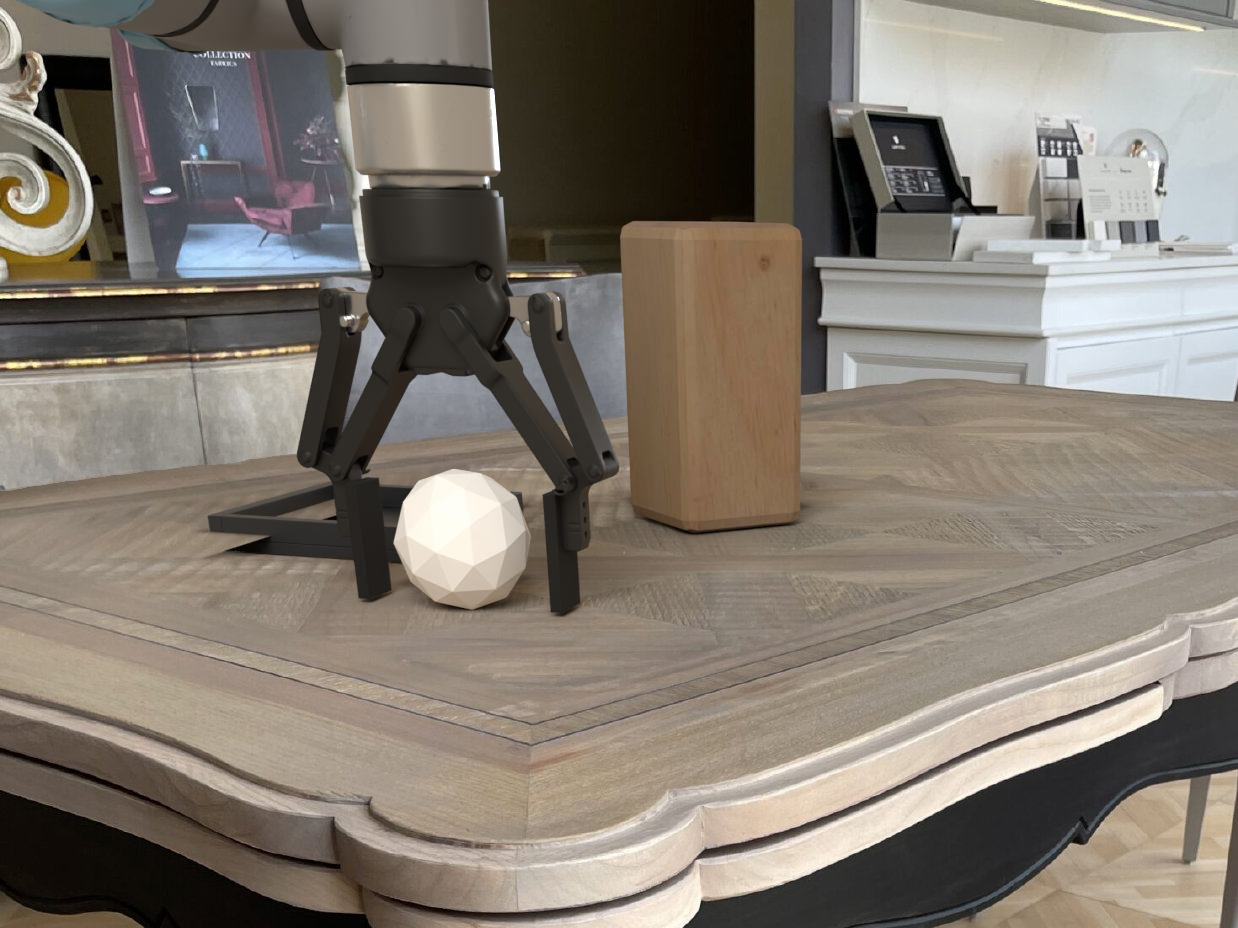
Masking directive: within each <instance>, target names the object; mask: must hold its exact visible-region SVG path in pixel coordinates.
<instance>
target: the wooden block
mask: <svg viewBox="0 0 1238 928" xmlns="http://www.w3.org/2000/svg"><path fill="white" fill-rule="evenodd" d="M619 242H620V243H619V245H620V267H621V268H620V271H621V289H622V290H621V291H622V316H623V339H624V341H623V342H624V359H625V360H624V362H625V364H624V366H625V386H626V388H625V389H626V413H627V431H628V432H627V435H628V437H627V438H628V459H629V460H628V463H629V483H630V486H629V487H630V504H631V506H632V510H633V512H634V513H635V514H636V515H638V516H641V517H643V518H646V519H649V520H653V521H655V522H659V523H662V524H664V525H668V526H671V527H674V528H677V529H680V530H682V531H686V532H689V533H691V534H700V533H709V532H719V531H720V532H722V531H731V530H732V531H733V530H739V529H740V530H742V529H752V528H761V527H771V526H781V525H788V524H789V523H792V522H794V521H796V520H798V518H799V516H800V512H801V443H802V441H801V434H802V433H801V432H802V431H801V429H802V427H801V425H802V424H801V423H802V422H801V420H802V315H803V314H802V311H803V309H802V304H803V303H802V301H803V300H802V299H803V298H802V297H803V295H802V293H803V292H802V291H803V290H802V288H803V238H802V234H801V231H800V229H799V228H797V227H795V226H794V225H792V224H790V223H789V222H757V221H756V222H754V221H752V222H750V221H749V222H748V221H681V220H680V221H676V220H675V221H672V220H670V221H669V220H667V221H665V220H664V221H663V220H661V221H659V220H655V221H654V220H644V221H643V220H633V221H630V222H628V223H627V224H625V225H623V226H622V227H621V231H620V236H619Z"/></svg>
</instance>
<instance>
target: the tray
mask: <svg viewBox="0 0 1238 928" xmlns="http://www.w3.org/2000/svg"><path fill="white" fill-rule="evenodd" d="M379 484H380V492H381V501H382V510H383V519H384V527H385V536H386V545H387V553H388V562H389V563H397V564H403V563H402V561H401V559H400V557H399V554H398V552H397V550H396V548H395V545H394V539H395V534H396V530H397V526H398V522H399V517H400V513H401V509H402V505H403V501H404V500H405V499H406V497H407V496H408V495H409V493H410V492H411V490H412V489H413V488H414V486H415V485H403V484H402V485H400V484H385V483H384V484H383V483H379ZM509 492H510V493H512V494H513V495H514V496H515V497H517V500H518V503H519V505H520V508H521V511H522V513H523V516H524V517H525V514H524V502H523V501H524V499H523V492H522V491H509ZM332 500H334V493H333V486H332V482H331V480H329V481H326V482H322V483H318V484H315V485H312V486H307V487H305V488H301V489H297V490H294V491H290V492H287V493H283V494H279V495H276V496H271V497H268V498H265V499H262V500H258V501H254V502H250V503H247V504H244V505H240V506H236V507H233V508H228V509H225V510H222V511H219V512H215V513H211V514H207V523H208V528H209V532H210V533H224V534H225V533H226V534H239V535H240V534H242V535H256V536H266V537H263V538H259V539H257V540H253V541H249V542H246V543H243V544H241V545H237V546H235V547H231V548H228V549H225V550H224V552H231V553H232V552H234V553H247V554H248V553H249V554H250V553H251V554H261V555H263V554H264V555H278V556H292V557H306V558H307V557H309V558H320V559H321V558H325V559H337V560H352V561H354V558H353V550H352V542H351V538H350V537H342V536H341V533H340V531H339V529H338V524H337V516H336V514H335V515H332V516H329V517H326V518H321V519H317V518H302V517H283V515H286V514H289V513H292V512H295V511H298V510H299V511H300V510H303V509H305V508H309V507H312V506H315V505H319V504H322V503H325V502H330V501H332Z"/></svg>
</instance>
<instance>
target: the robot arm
mask: <svg viewBox="0 0 1238 928" xmlns="http://www.w3.org/2000/svg"><path fill="white" fill-rule="evenodd" d="M16 1H17V2H18V3H21V4H23V5H25V6H28V7H30V8H33V9H36V10H38V11H40V12H41V13H43V14H44V15H47V16H49V17H51V18H53V19H55V20H58V21H61V22H64V23H67V24H70V25H74V26H84V27H90V28H105V29H112V30H116V32H117V33H118V36H120V37H121V38H122V39H123V40H124V41H125V42H127V43H128V44H130V45H131V46H134V47H137V48H140V49H144V50H159V51H167V52H170V53H185V54H188V55H190V56H197V55H198V56H200V55H204V54H206V53H207V52H255V51H257V52H258V51H259V52H260V51H291V50H292V51H293V50H294V51H295V50H315V51H321V52H329V51H330V52H331V51H336V50H341V53H342V56H343V63H344V67H343V68H344V77H345V84H346V85H347V86H346V89H347V99H348V100H347V101H348V108H349V109H348V110H349V119H350V128H351V138H352V149H353V158H354V159H353V160H354V167H355V171H356V172H358V174H360V175H361V176H367V177H368V178H367V179H368V184H369V188H362V190H361V193H362V195H358V200H359V210H360V217H361V226H362V234H363V244H364V253H365V259H366V261H367V264H368V266H369V269H370V283H369V286H368V288H367V291H362V290H361V291H359V290H356V289H355V288H354V287H351V286H340V287H339V286H338V287H326V288H323V289H321V290H320V291H319V293H318V296H317V301H318V312H319V324H320V332H321V334H320V338H319V342H318V348H317V353H316V356H315V362H314V366H313V372H312V377H311V381H310V387H309V392H308V397H307V401H306V406H305V411H304V416H303V421H302V426H301V430H300V436H299V440H298V445H297V450H296V459H297V462H298V463H299V465H300V466H301V467H302V468H305V469H314V470H315V471H318V472H320V473H323V474H324V475H325V476H327V477H328V478H329V481H331V482H332V486H333V493H334V499H333V500H334V501H333V502H334V508H335V515H336V516H337V524H338V529H339V531H340V533H341V536H342V537H350V538H351V542H352V550H353V558H354V560H353V564H354V565H353V566H354V572H355V580H356V589H357V597H358V599H362V600H364V599H365V600H372V599H373V598H376V597H379V596H380V595H384V594H386V593H388V592H390V591H392V590H393V589H392V580H391V572H390V564H389V563H390V562H388V553H387V545H386V536H385V527H384V519H383V510H382V501H381V492H380V484H381V483H380V477H375V476H373V477H372V476H366V477H363V476H364V475H367V474H369V473H370V472H371V469H370V468H368V466H369V464H370V462H371V460H372V459H373V457H374V455H375V452H376V450H377V449H378V446H379V444H380V442H381V440H382V439H383V437H384V434H385V432H386V430H387V428H388V427H389V424H390V422H391V421H392V418H394V415H395V413H396V411H397V409H398V407H399V405H400V403H401V402H402V400H403V398H404V395H405V393H406V391H407V389H408V387H409V386H410V385H411V383H412V381H414V380H415V379H416V377H418V376H430V375H435V374H441V373H443V374H445V375H449V376H451V377H461V378H463V377H465V378H466V377H470V376H475V377H476V379H477V380H478V382H479V383H480V384H481V385H482V387H484V388H485V389H487V390H489V392H490V393H491V394H492V396H493V397H494V399H495V400H496V402H497V403H498V405H499V406H500V407H501V409H502V410H503V412H504V413H505V415H506V417H507V418H508V419H509V421H510V422H511V424H512V426H513V427H514V428H515V430H516V431H517V432H518V434H519V436H520V437H521V438H522V440H523V441H524V443H525V444H526V446H527V447H528V448H529V450H530V451H531V453H532V454H533V456H534V458H535V459H536V461H537V462H538V463H539V465H540V467H541V468H542V469H543V471H544V472H545V474H546V475H547V477H548V478H549V479H550V481H551V482H552V484H553V485H554V489H551V491H548V492H545V493H543V494H542V507H543V508H542V509H543V522H544V536H545V550H546V552H545V553H546V566H547V578H548V593H549V594H548V596H549V605H550V606H549V608H550V613H557V614H558V613H559V614H563V613H565V612H567V611H570V610H571V609H573V608H574V607H576V606H578V605H580V604H581V591H580V589H581V588H580V587H581V586H580V574H579V573H580V572H579V557H578V555H579V554H578V552H581V551H584V550H585V549H587V548H589V545H590V543H591V540H592V536H591V535H592V534H591V521H590V520H591V517H590V516H591V515H590V501H589V500H590V498H589V493H590V490H591V488H592V487H593V485H595V484H597V483H600V482H603V481H605V480H608V479H611V478H613V477H615V476H616V475H618V473H619V472H620V467H621V466H620V461H619V459H618V457H617V454H616V452H615V449H614V447H613V443H612V442H611V439H610V437H609V434H608V431H607V430H606V426H605V424H604V422H603V420H602V416H601V414H600V411H599V409H598V406H597V404H596V402H595V399H594V397H593V394H592V391H591V389H590V387H589V384H588V381H587V379H586V376H585V373H584V372H583V371H584V370H583V368H582V366H581V364H580V361H579V359H578V356H577V354H576V352H575V348H574V346H573V344H572V341H571V339H570V333H569V323H568V322H569V321H568V311H567V302H566V299H565V297H564V295H563V294H562V293H560V292H559V291H555V290H553V291H545V292H535V293H533V294H530V295H529V294H528V295H525V294H524V295H515V293H514V292H513V289H512V287H511V285H510V282H509V280H508V275H507V267H508V249H507V247H508V246H507V235H506V223H505V211H504V209H505V208H504V197H503V196H500V194H499V193H500V191H499V190H495V189H491V178H492V177H493V178H495V177H497V176H498V175H499V174H500V172H501V161H500V160H501V159H500V148H499V136H498V124H497V112H496V111H497V110H496V99H495V89H494V88H495V87H494V86H495V85H494V74H493V65H492V64H493V63H492V47H491V46H492V45H491V32H490V31H491V29H490V11H489V0H16ZM370 318H371V320H372V321H373V322H374V324H375V325H376V327H377V328H378V329H379V331H380V332H381V334H382V335H383V336H384V339H383V341H382V343H381V345H380V347H379V350H378V352H377V354H376V356H375V358H374V360H373V361H372V363H371V367H370V370H371V374H370V376H369V378H368V380H367V382H366V383H365V386H364V389H363V390H362V392H361V394H360V397H359V398H358V400H357V403H356V405H354V408H353V410H352V412H351V415H350V416H349V418H348V421H347V423H346V425H345V427H344V423H345V418H346V414H347V410H348V405H349V401H350V397H351V392H352V387H353V382H354V379H355V373H356V370H357V369H356V368H357V365H358V360H359V355H360V351H361V345H362V336H363V331H365V330H366V328H367V326H368V324H369V323H370ZM515 320H517V321H518V322H519V324H520V327H521V329H522V332H523V334H524V335H525V336H526V337H528V338H530V340H531V344H532V349H533V351H534V354H535V357H536V359H537V363H538V365H539V368H540V369H541V372H542V375H543V377H544V379H545V382H546V384H547V386H548V389H549V391H550V394H551V396H552V399H553V402H554V404H555V406H556V409H557V411H558V414H559V416H560V418H561V421H562V423H563V426H564V429H565V431H566V433H567V436H566V435H565V433H564V432H563V430H562V429H561V427H560V426H559V424H558V423H557V421H556V420H555V418H554V416H553V415H552V414H551V412H550V410H549V409H548V408H547V406H546V405H545V403H544V402H543V400H542V399H541V397H540V396H539V395H538V393H537V391H536V390H535V388H534V387H533V385H532V384H531V383H530V381H529V379H528V378H527V376H526V375H525V372H524V367H523V364H522V363H521V362H520V359H519V358H518V357H517V355H516V354H515V352H514V351H513V349H512V347H511V346H510V345H509V344H508V342H507V340H506V337H507V335H508V333H509V332H510V329H511V327H512V326H513V324H514V322H515ZM568 438H569V439H568Z"/></svg>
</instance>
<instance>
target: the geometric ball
mask: <svg viewBox="0 0 1238 928" xmlns="http://www.w3.org/2000/svg"><path fill="white" fill-rule="evenodd" d="M413 486H414V488H413V489H412V490H411V492H410V493H409V495H408V496H407V497H406V499H405V500H404V501H403V505H402V509H401V513H400V517H399V522H398V526H397V530H396V534H395V539H394V545H395V548H396V550H397V552H398V554H399V557H400V559H401V561H402V563H401V564H402V566H403V568H404V570H405V573H406V575H407V577H408V579H409V581H410V583H412V584H413V585H414V586H415V587H417V589H419V590H420V591H421V592H422V593H423V594H425V595H426V596H427V597H429V598H430V599H431V600H432V601H434V602H436V603H440V604H443V605H444V604H445V605H449V606H453V607H459V608H462V609H463V608H464V609H467V610H472V611H473V610H476V609H478V608H481V607H485V606H487V605H490V604H492V603H495V602H498V601H500V600H504V599H506V598H507V597H508V596H509V594H510V593H511V591H512V590H513V589H514V587H515V586H516V584H517V582H518V581H519V579H520V578H521V576H522V574H523V573H524V571H525V569H526V567H527V561H528V555H529V551H530V544H531V540H532V535H531V533H530V529H529V528H528V524H527V522H526V519H525V515H524V516H523V514H524V512H523V513H522V511H521V508H520V505H519V503H518V500H517V497H515V496H514V495H513V494H512V493H510V491H509V490H508V489H506V487H504V486H503V485H501V484H500V483H499V482H497V481H496V480H495V479H493V477H490V476H489V475H486V474H484V473H481V472H475V471H469V470H463V469H457V468H452V469H448V470H445V471H443V472H439V473H437V474H434V475H431V476H428V477H426V478H425V477H424V478H422V479H419V480H417V482H416V483H415V485H413Z"/></svg>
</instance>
